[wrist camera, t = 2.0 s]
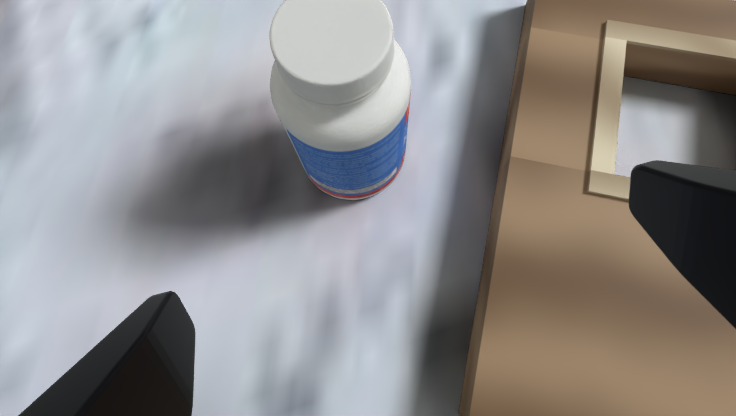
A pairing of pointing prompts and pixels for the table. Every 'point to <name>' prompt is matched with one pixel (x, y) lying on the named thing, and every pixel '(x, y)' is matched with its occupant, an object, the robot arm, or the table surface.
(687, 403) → the socket board
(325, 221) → the table surface
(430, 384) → the table surface
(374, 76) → the pill bottle
